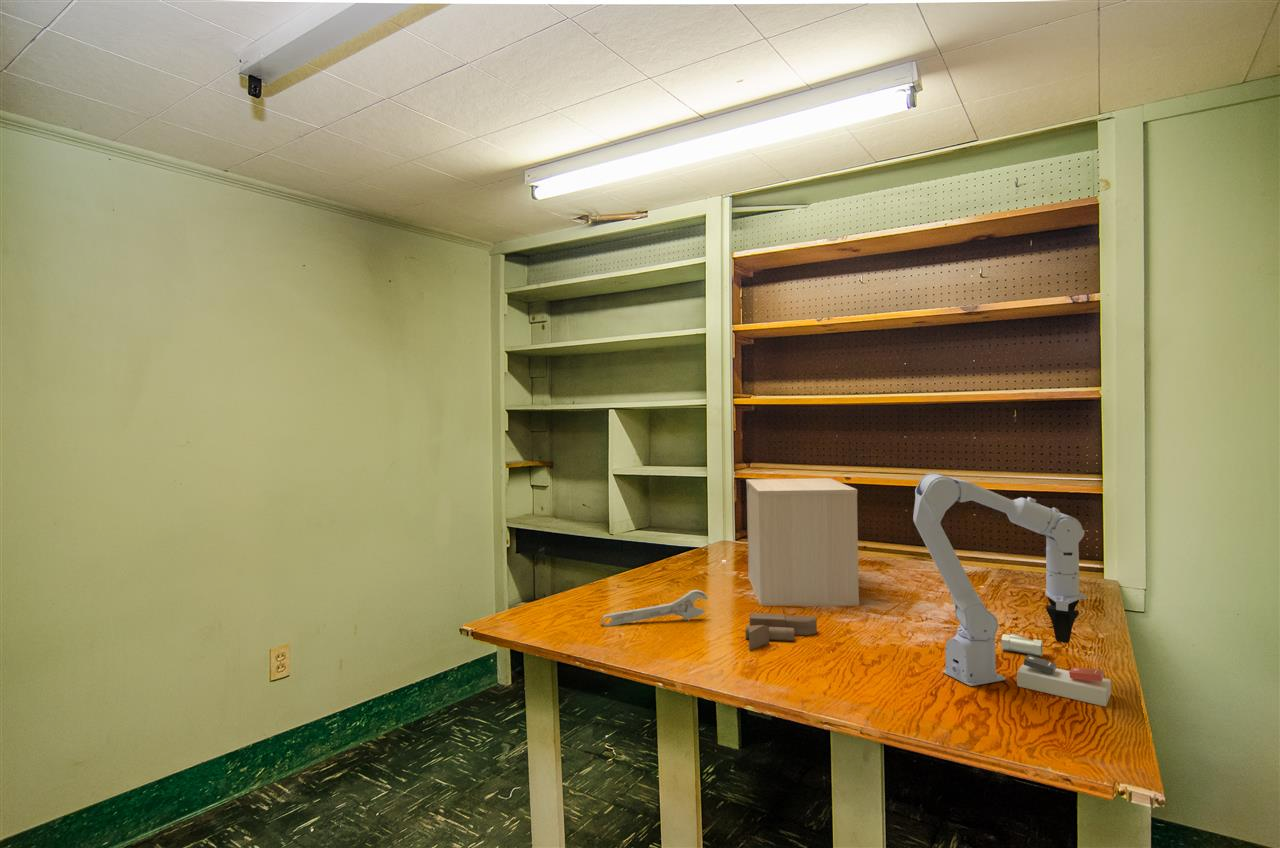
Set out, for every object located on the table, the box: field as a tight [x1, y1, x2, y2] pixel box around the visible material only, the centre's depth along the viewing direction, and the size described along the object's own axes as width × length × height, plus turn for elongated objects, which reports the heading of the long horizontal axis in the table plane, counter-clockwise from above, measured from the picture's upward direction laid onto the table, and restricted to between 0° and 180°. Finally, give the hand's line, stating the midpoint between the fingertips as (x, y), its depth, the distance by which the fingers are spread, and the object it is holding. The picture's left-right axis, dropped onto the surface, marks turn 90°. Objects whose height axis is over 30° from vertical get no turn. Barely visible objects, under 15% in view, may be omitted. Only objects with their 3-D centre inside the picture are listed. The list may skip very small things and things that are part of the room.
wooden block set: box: [745, 612, 818, 651], centre depth 164 cm, size 17×6×18 cm
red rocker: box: [1069, 666, 1105, 681], centre depth 129 cm, size 5×3×1 cm, turn 48°
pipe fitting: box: [1000, 632, 1044, 658], centre depth 154 cm, size 8×4×7 cm
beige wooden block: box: [745, 477, 860, 607], centre depth 210 cm, size 35×29×34 cm
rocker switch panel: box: [1016, 662, 1112, 707], centre depth 132 cm, size 15×7×3 cm, turn 48°
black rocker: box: [1023, 654, 1058, 675], centre depth 134 cm, size 5×3×1 cm, turn 48°
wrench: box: [601, 589, 708, 627], centre depth 181 cm, size 8×2×30 cm
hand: (1062, 636), depth 136 cm, fingers open, 7 cm apart
